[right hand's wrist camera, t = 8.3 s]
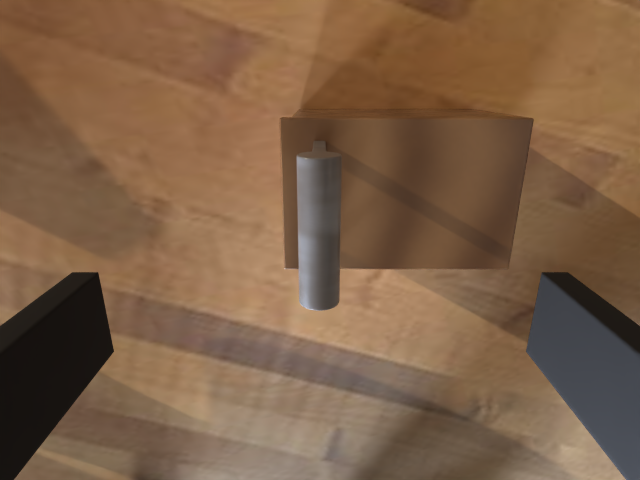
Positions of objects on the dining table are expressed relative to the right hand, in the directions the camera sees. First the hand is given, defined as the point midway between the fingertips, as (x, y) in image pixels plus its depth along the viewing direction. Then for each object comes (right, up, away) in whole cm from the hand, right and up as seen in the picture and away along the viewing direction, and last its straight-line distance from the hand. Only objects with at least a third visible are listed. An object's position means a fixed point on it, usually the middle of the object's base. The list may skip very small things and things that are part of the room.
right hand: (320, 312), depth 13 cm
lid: (+5, +5, +14) cm, 15 cm away
